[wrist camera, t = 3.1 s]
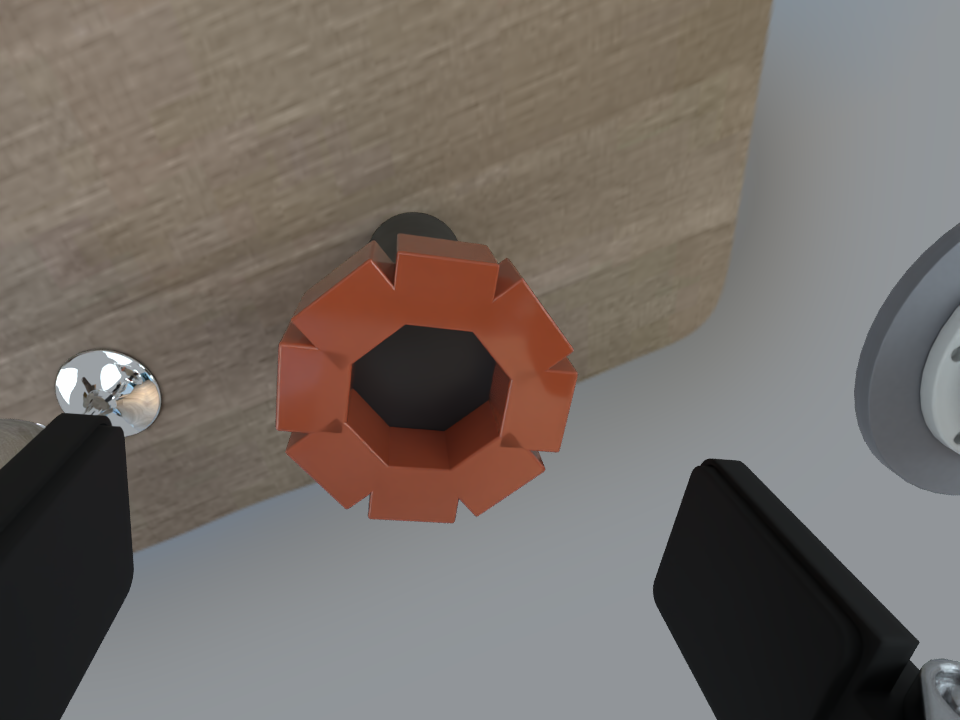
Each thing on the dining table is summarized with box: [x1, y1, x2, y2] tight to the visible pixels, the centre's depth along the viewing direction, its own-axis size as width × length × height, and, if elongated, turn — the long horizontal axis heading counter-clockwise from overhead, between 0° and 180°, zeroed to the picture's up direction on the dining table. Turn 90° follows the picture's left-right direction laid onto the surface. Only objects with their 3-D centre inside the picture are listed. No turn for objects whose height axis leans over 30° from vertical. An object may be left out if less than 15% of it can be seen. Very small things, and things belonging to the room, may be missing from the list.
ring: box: [275, 233, 578, 523], centre depth 15 cm, size 7×7×2 cm
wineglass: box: [0, 349, 161, 469], centre depth 22 cm, size 6×6×12 cm
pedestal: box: [353, 212, 496, 431], centre depth 21 cm, size 4×4×12 cm
